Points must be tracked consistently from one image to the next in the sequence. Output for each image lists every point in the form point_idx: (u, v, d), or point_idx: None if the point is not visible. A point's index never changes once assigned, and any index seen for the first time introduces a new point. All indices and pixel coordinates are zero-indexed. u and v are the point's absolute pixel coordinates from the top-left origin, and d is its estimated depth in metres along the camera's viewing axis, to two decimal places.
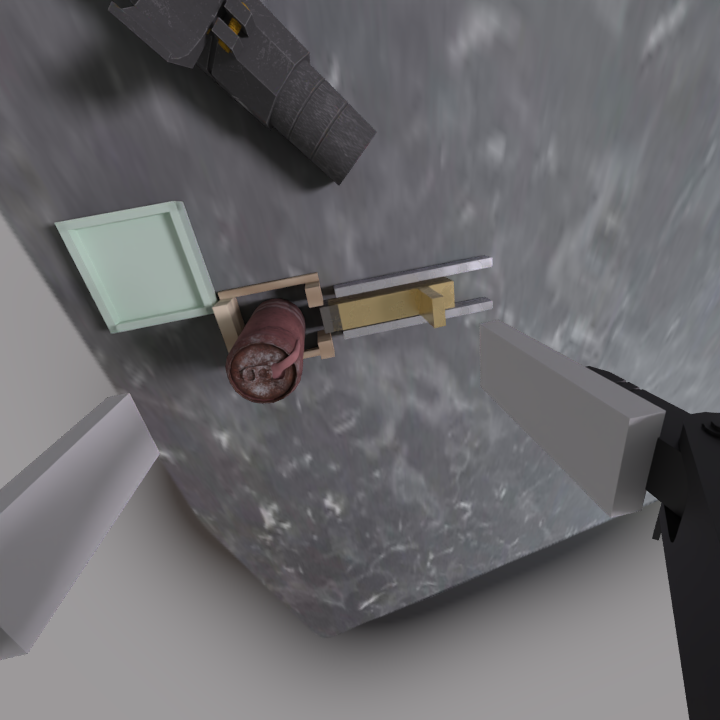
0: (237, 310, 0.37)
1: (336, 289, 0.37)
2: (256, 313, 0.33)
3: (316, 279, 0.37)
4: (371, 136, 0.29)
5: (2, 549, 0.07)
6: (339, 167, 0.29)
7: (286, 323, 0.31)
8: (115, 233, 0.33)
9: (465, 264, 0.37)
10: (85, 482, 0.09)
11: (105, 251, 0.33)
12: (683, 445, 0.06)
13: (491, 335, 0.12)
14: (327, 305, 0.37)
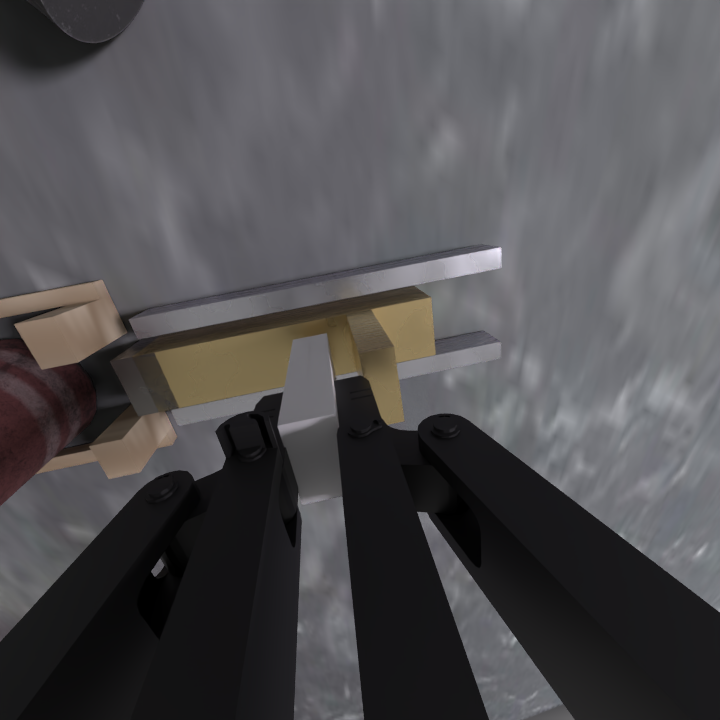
0: None
1: (134, 320, 0.16)
2: None
3: (94, 296, 0.16)
4: None
5: None
6: None
7: None
8: None
9: (439, 263, 0.16)
10: None
11: None
12: None
13: (310, 348, 0.14)
14: (134, 354, 0.16)
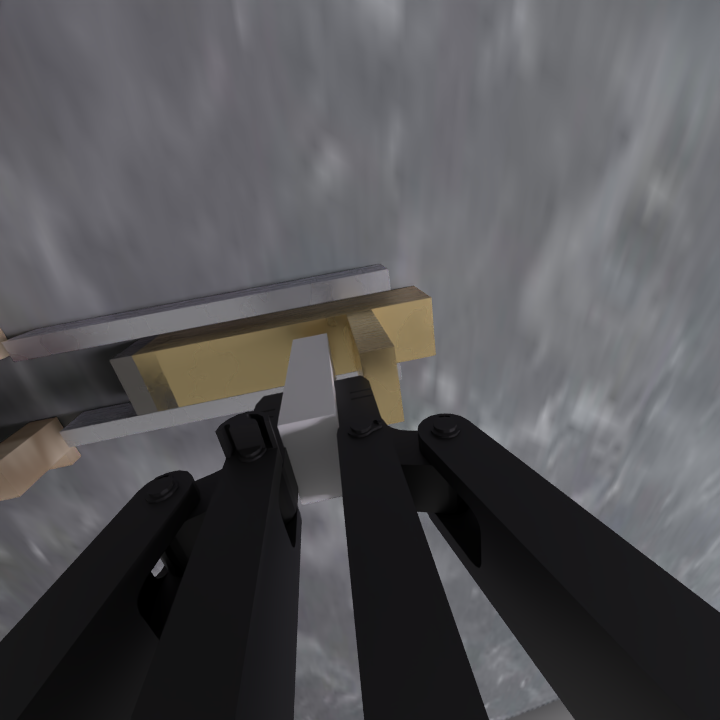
0: None
1: (7, 343, 0.15)
2: None
3: None
4: None
5: None
6: None
7: None
8: None
9: (324, 285, 0.16)
10: None
11: None
12: None
13: (310, 348, 0.13)
14: (133, 352, 0.16)
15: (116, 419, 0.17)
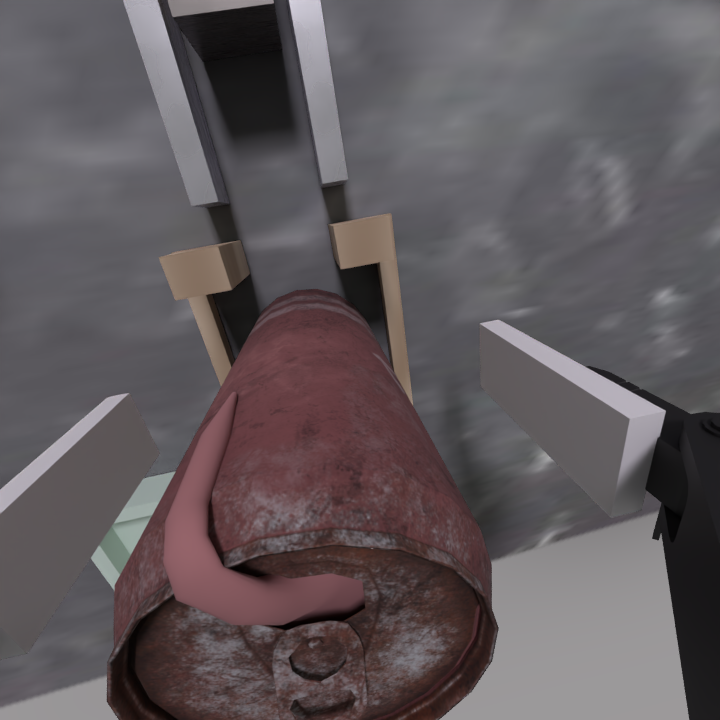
0: None
1: (192, 199, 0.13)
2: None
3: None
4: None
5: (2, 549, 0.07)
6: None
7: (212, 404, 0.09)
8: None
9: None
10: (85, 482, 0.09)
11: None
12: (683, 445, 0.06)
13: (491, 336, 0.12)
14: None
15: (305, 93, 0.12)
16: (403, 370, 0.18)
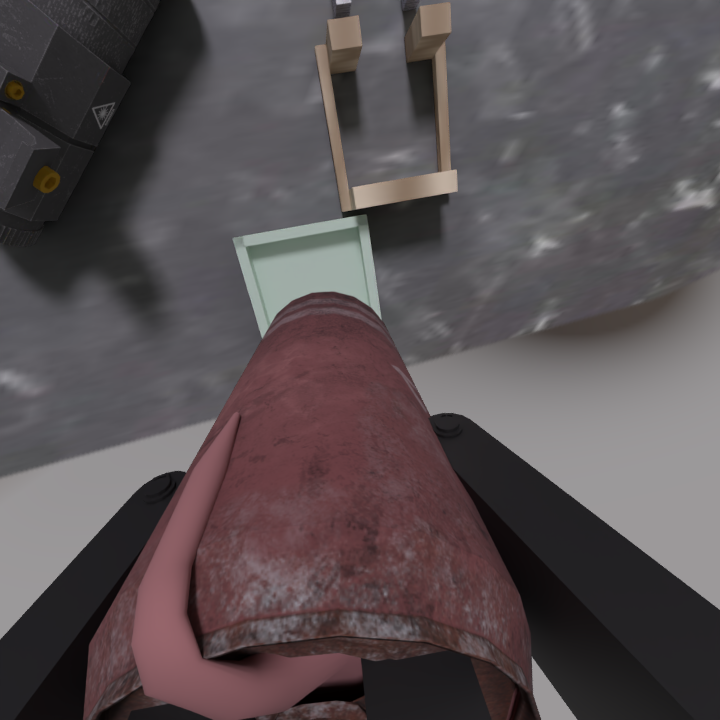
0: None
1: (337, 0, 0.22)
2: None
3: (324, 48, 0.24)
4: None
5: None
6: None
7: None
8: (277, 312, 0.31)
9: None
10: None
11: None
12: None
13: None
14: None
15: None
16: (446, 149, 0.28)
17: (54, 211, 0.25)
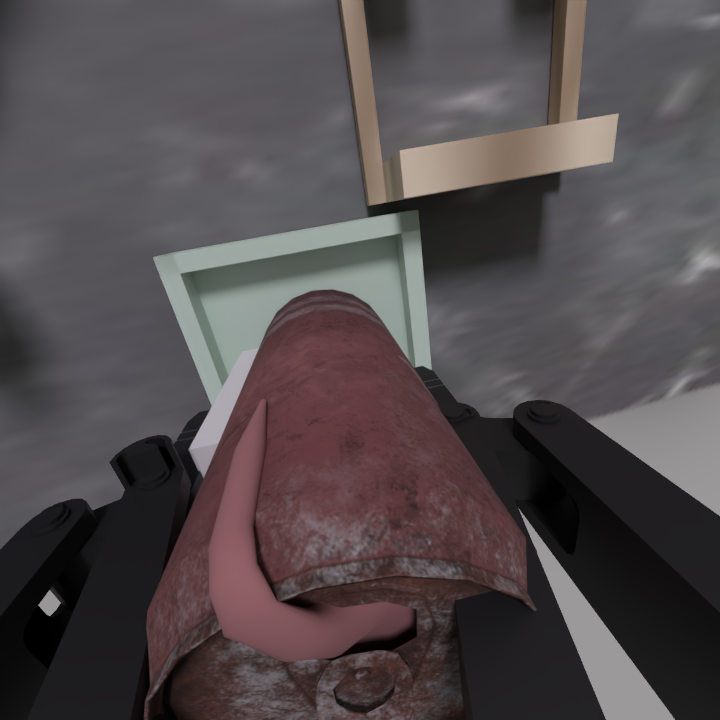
0: None
1: None
2: None
3: None
4: None
5: None
6: None
7: (234, 410, 0.08)
8: None
9: None
10: None
11: None
12: None
13: None
14: None
15: None
16: (573, 82, 0.14)
17: None
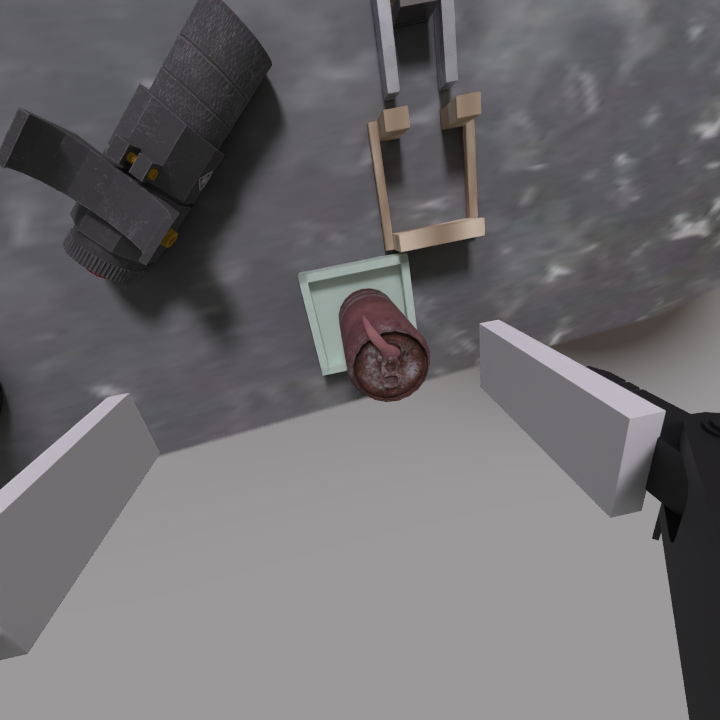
0: (406, 231, 0.33)
1: (388, 90, 0.28)
2: None
3: (375, 124, 0.30)
4: None
5: (2, 549, 0.07)
6: (249, 49, 0.24)
7: (348, 324, 0.27)
8: (329, 334, 0.36)
9: None
10: (85, 482, 0.09)
11: None
12: (683, 445, 0.06)
13: (491, 335, 0.12)
14: None
15: (443, 39, 0.27)
16: (474, 197, 0.33)
17: (158, 255, 0.30)
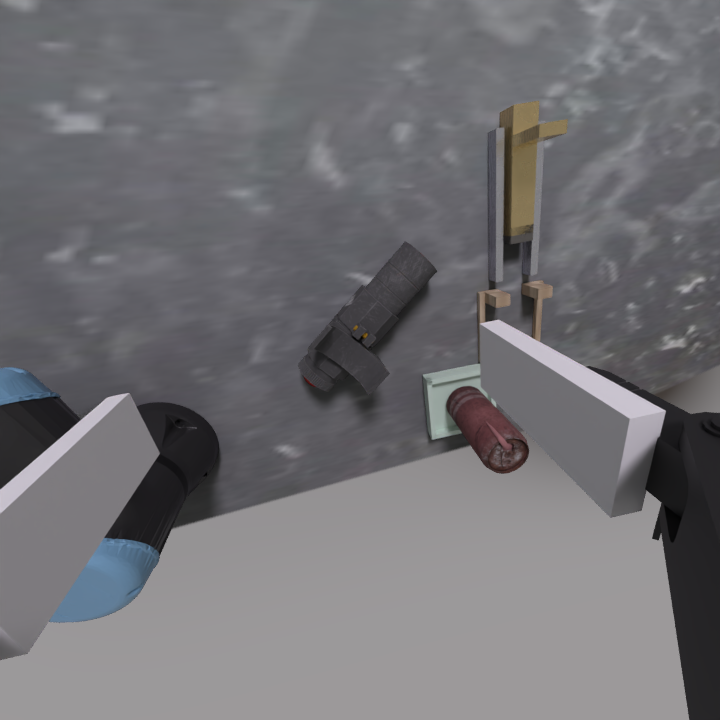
0: None
1: (496, 280, 0.46)
2: (459, 428, 0.50)
3: (483, 294, 0.48)
4: (415, 249, 0.40)
5: (2, 549, 0.07)
6: (430, 274, 0.42)
7: (472, 422, 0.46)
8: (438, 412, 0.55)
9: (497, 158, 0.40)
10: (85, 482, 0.09)
11: (447, 419, 0.55)
12: (683, 445, 0.06)
13: (492, 336, 0.12)
14: (509, 237, 0.43)
15: (530, 254, 0.45)
16: (538, 331, 0.51)
17: None
